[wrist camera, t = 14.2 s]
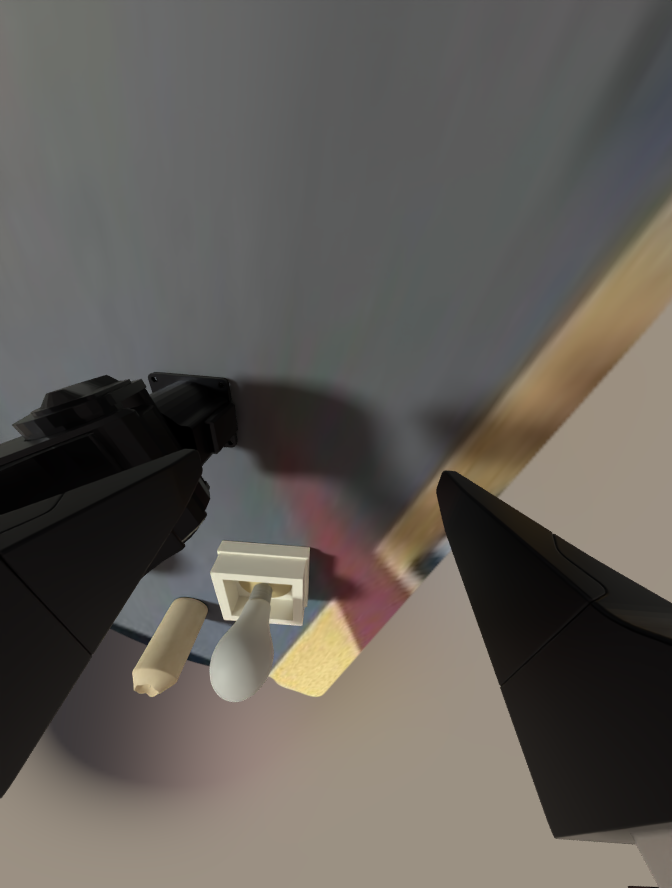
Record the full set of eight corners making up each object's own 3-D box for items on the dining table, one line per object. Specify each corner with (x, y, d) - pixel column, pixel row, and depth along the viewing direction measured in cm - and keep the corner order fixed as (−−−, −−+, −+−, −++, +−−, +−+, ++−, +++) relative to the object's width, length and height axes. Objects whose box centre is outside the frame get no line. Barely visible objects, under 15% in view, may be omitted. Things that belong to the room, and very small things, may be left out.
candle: (204, 597, 38) (162, 686, 29) (211, 616, 41) (175, 702, 32) (168, 595, 38) (115, 682, 29) (178, 614, 41) (132, 699, 32)
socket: (233, 590, 36) (222, 620, 33) (222, 540, 31) (206, 570, 28) (308, 596, 37) (304, 627, 33) (309, 547, 31) (305, 578, 28)
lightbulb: (235, 569, 31) (187, 687, 22) (283, 568, 31) (255, 688, 21) (247, 596, 34) (209, 711, 24) (291, 596, 34) (270, 712, 24)
